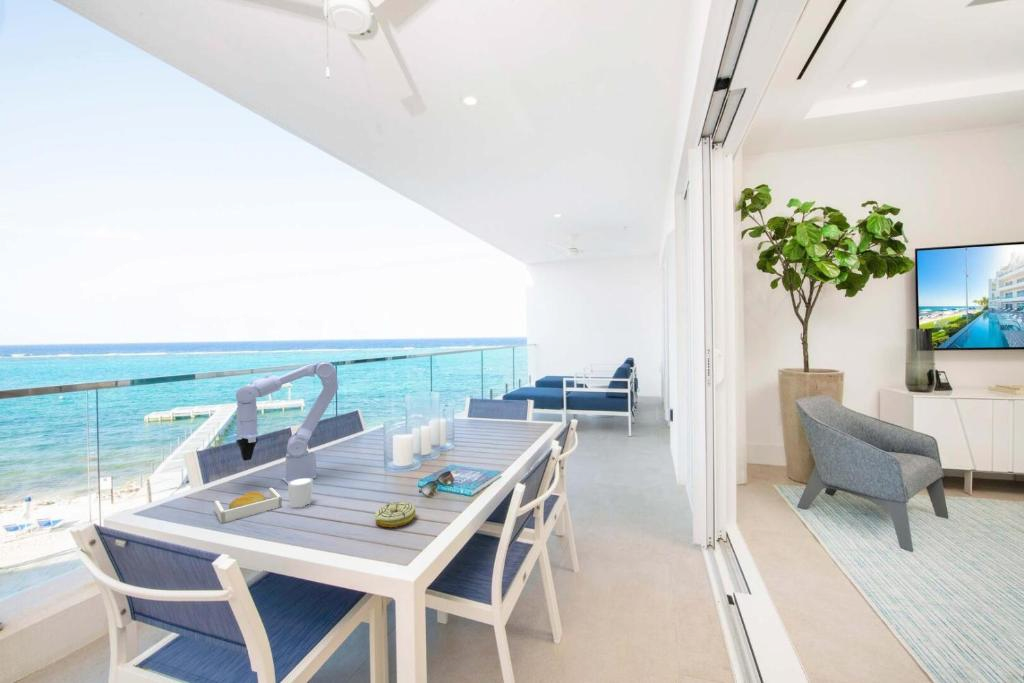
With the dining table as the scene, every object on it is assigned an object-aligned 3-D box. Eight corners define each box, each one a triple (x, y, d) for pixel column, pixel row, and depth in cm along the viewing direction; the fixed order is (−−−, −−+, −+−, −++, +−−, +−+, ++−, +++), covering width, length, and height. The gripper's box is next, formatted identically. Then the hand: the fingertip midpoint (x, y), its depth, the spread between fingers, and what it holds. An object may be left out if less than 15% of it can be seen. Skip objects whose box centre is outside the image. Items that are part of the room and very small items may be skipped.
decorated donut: (383, 512, 111) (383, 499, 111) (419, 512, 111) (419, 499, 111) (369, 529, 101) (369, 515, 101) (409, 530, 100) (409, 515, 100)
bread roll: (222, 513, 111) (222, 499, 111) (248, 500, 119) (248, 488, 119) (246, 515, 109) (246, 501, 109) (271, 502, 118) (271, 489, 118)
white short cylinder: (317, 499, 120) (317, 477, 120) (303, 509, 113) (303, 485, 113) (297, 499, 120) (297, 477, 120) (282, 508, 113) (282, 485, 113)
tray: (271, 496, 122) (271, 487, 122) (281, 507, 114) (281, 497, 114) (214, 511, 111) (214, 501, 111) (221, 523, 104) (221, 512, 104)
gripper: (228, 419, 132) (228, 458, 132) (237, 425, 122) (237, 467, 122) (252, 416, 138) (252, 453, 138) (263, 421, 128) (263, 462, 128)
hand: (247, 459), depth 130 cm, fingers closed
